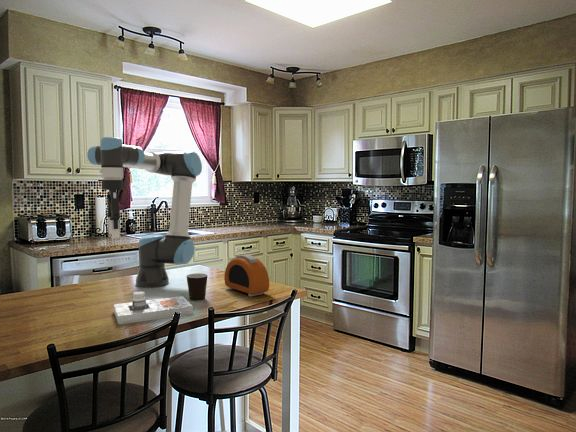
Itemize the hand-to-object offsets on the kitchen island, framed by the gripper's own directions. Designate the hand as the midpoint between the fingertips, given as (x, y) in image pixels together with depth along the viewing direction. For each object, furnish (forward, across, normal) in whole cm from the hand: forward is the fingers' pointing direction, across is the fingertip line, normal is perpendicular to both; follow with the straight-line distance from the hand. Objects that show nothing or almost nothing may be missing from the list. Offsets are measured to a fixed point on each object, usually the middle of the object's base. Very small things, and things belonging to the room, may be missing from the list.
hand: (114, 235), depth 160 cm
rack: (+29, +10, +12) cm, 33 cm away
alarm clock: (+29, -4, +55) cm, 62 cm away
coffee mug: (+29, -3, +33) cm, 44 cm away
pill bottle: (+29, +10, +7) cm, 31 cm away
